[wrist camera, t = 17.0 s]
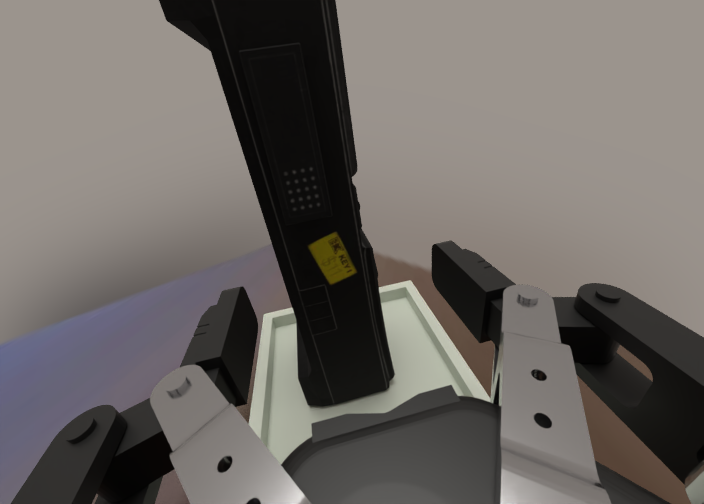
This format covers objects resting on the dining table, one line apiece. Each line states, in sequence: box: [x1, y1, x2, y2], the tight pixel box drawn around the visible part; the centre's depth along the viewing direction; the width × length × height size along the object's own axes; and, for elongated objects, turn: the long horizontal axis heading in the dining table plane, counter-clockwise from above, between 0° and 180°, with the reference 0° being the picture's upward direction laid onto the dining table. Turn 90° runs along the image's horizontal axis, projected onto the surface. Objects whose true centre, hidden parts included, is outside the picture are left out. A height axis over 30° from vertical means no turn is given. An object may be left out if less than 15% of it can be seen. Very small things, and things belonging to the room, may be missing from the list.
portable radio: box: [159, 0, 395, 407], centre depth 14 cm, size 8×6×25 cm
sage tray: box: [249, 280, 490, 465], centre depth 20 cm, size 14×14×2 cm
